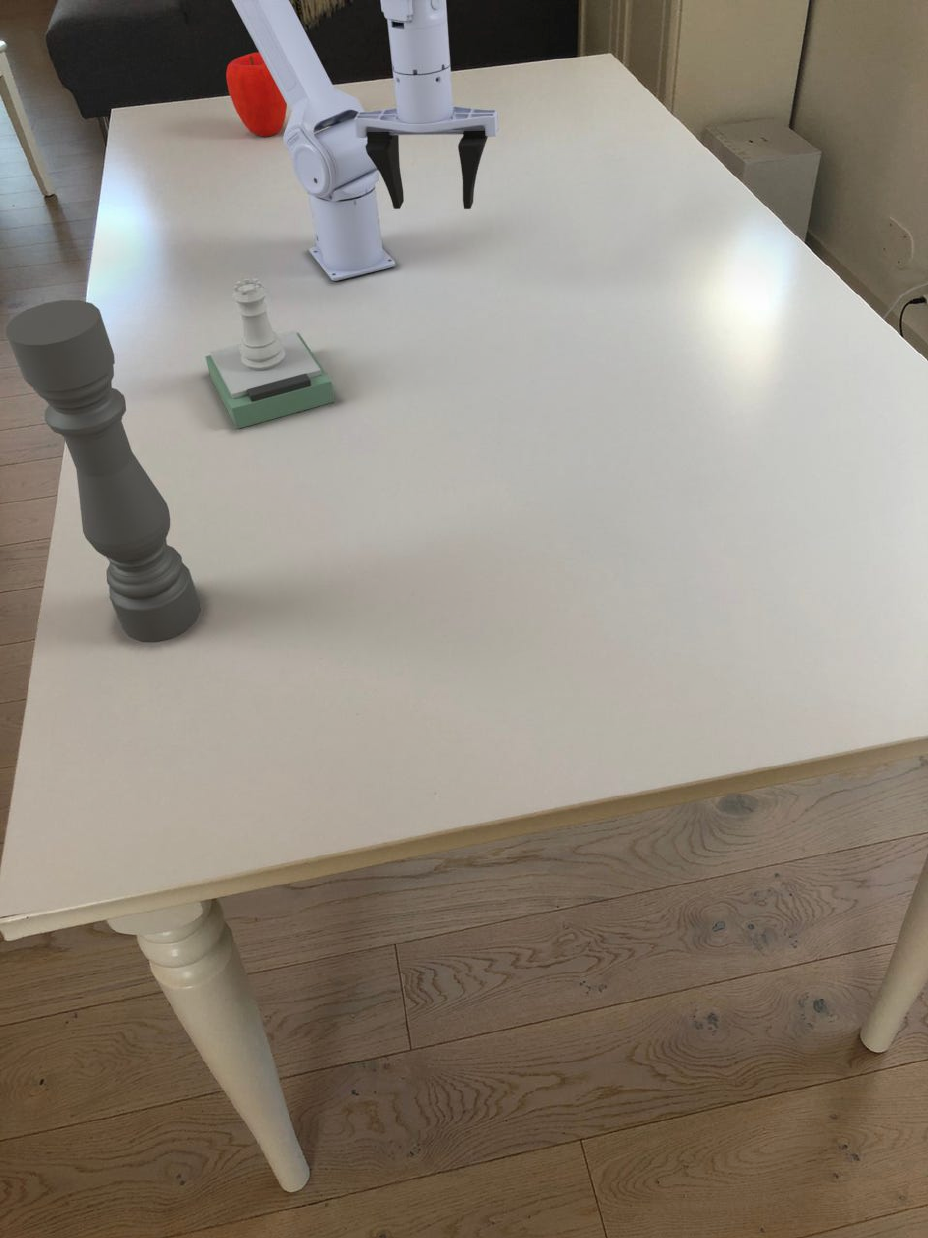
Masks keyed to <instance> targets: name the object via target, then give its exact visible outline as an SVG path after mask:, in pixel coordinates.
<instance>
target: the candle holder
mask: <svg viewBox="0 0 928 1238" xmlns="http://www.w3.org/2000/svg"><path fill="white" fill-rule="evenodd" d="M5 336H6V338H7V340H8V343H9V345H10V348H11V350H12V353H13V355H14V357H15V361H16V362H17V365H18V367H19V370H20V372H21V375H22V377H23V380H24V381H25V382H26V383H27V384H28V385H29V387H31V388H32V390H33V391H34V392H35V393H36V394H37V395H38V396H39V397H40V398H42V399H44V401H45V402H46V403H47V404H48V405H47V407H46V408H45V409H44V422H45V423H46V425H47V426H48V427H49V428H50V429H51V430H52V432H53V433H56V434H59V435H60V436H62V437H63V439H64V442H65V445H66V447H67V449H68V452H69V454H70V457H71V459H72V462H73V465H74V467H75V470H76V479H77V487H78V488H77V489H78V495H79V504H80V517H81V526H82V533H83V536H84V538H85V539H86V540H87V541H88V543H89V544H90V545H91V546H92V547H93V549H94V550H95V551H96V552H97V553H99V554H100V555H101V556H103V557H105V558H106V560H107V561H109V564H108V567H107V568H106V583H107V586H109V587H108V590H109V592H108V593H109V600H110V602H111V604H112V607H113V610H114V611H115V614H116V616H117V619H118V621H119V624H120V626H121V628H122V630H123V631H124V632H125V634H126V635H127V636H128V637H129V638H132V639H134V640H136V641H138V642H146V643H147V642H149V643H157V642H161V641H166V640H169V639H173V638H174V637H177V636H179V635H181V634H182V633H184V632H186V631H187V630H188V629H190V627H191V626H192V625H193V624H195V623H196V622H197V620H198V617H199V614H200V612H201V604H200V598H199V596H198V592H197V590H196V586H195V583H194V580H193V578H192V577H193V576H192V575H191V571H190V568H188V566H186V565H185V564H184V563H183V558H182V557H183V556H182V555H181V554H180V553H179V552H178V550H176V549H175V547H173V546H171V545H168V541H167V537H168V535H169V532H170V529H171V514H170V509H169V505H168V503H167V501H166V500H165V498H164V497H163V496H162V494H161V492H160V491H159V489H157V487H156V485H155V484H154V482H153V481H152V479H151V478H150V476H149V475H148V472H146V470H145V469H144V467H143V466H142V464H141V463H140V461H139V460H138V458H137V457H136V455H135V454H134V452H133V450H132V447H131V444H130V442H129V439H128V436H127V433H126V430H125V427H124V424H123V421H122V420H123V417H124V415H125V413H126V412H127V404H126V397H125V395H124V394H123V393H122V392H121V391H120V390H119V389H117V388H114V387H113V385H112V384H113V383H112V381H113V379H114V377H115V366H114V365H115V363H116V361H115V353H114V350H113V347H112V344H111V340H110V338H109V334H108V332H107V329H106V326H105V323H104V320H103V317H102V314H101V310H100V308H98V307H97V306H96V305H95V304H94V303H92V302H89V301H85V300H80V299H60V300H56V301H50V302H44V303H41V304H39V305H35V306H33V307H29V308H27V309H26V310H24V311H22V312H21V313H19V314H17V315H16V316H13V318H12V319H11V320H10V321H9V323H8V324H7V325H6V330H5Z"/></svg>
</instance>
